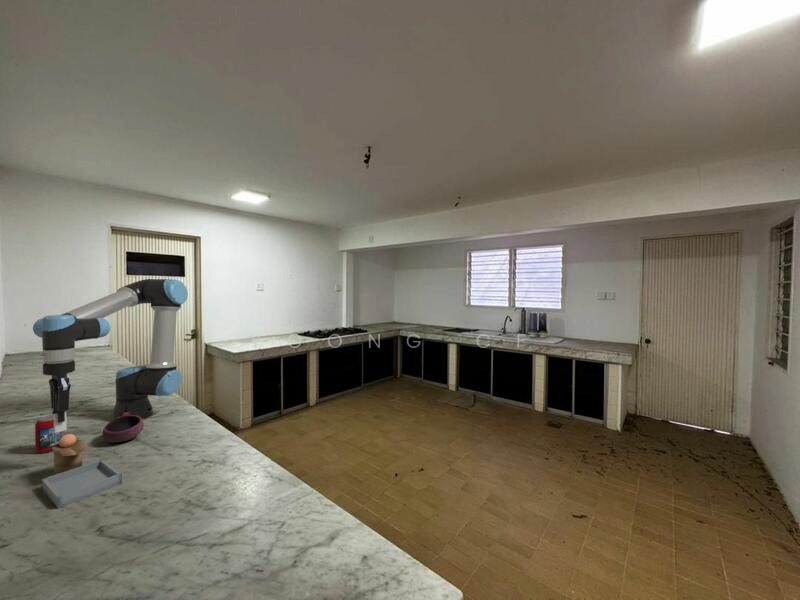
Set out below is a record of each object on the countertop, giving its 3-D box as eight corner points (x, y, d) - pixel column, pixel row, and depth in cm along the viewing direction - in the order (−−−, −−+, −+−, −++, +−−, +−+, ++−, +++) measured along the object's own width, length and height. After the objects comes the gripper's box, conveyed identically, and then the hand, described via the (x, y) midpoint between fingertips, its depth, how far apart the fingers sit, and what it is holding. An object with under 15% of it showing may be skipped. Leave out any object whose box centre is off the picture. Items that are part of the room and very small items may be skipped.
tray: (102, 468, 110) (102, 459, 110) (121, 483, 102) (121, 473, 102) (41, 489, 99) (41, 479, 99) (58, 508, 90) (58, 497, 90)
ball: (74, 443, 110) (73, 431, 110) (78, 445, 108) (77, 432, 108) (57, 448, 106) (56, 436, 106) (61, 450, 104) (60, 437, 104)
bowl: (150, 437, 134) (150, 417, 133) (111, 450, 122) (111, 429, 122) (130, 428, 141) (130, 410, 141) (91, 440, 130) (91, 420, 130)
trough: (78, 466, 112) (78, 437, 111) (89, 475, 106) (89, 445, 106) (51, 475, 106) (50, 445, 106) (61, 485, 100) (61, 454, 100)
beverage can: (44, 455, 118) (44, 422, 118) (30, 453, 120) (29, 420, 119) (67, 446, 125) (66, 415, 125) (53, 444, 126) (52, 413, 126)
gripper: (37, 360, 111) (38, 430, 111) (48, 365, 104) (49, 439, 104) (68, 357, 117) (69, 422, 118) (80, 361, 110) (81, 431, 111)
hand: (60, 430), depth 111 cm, fingers closed
